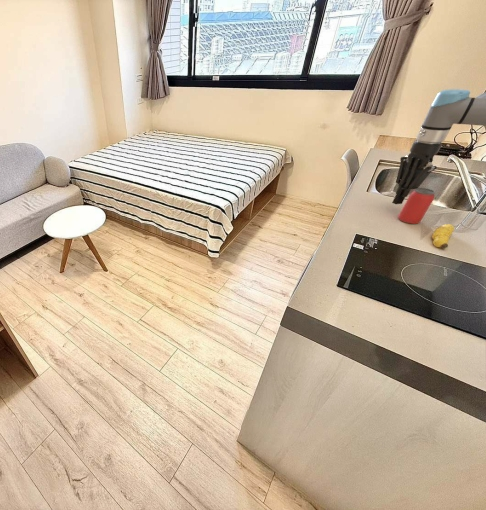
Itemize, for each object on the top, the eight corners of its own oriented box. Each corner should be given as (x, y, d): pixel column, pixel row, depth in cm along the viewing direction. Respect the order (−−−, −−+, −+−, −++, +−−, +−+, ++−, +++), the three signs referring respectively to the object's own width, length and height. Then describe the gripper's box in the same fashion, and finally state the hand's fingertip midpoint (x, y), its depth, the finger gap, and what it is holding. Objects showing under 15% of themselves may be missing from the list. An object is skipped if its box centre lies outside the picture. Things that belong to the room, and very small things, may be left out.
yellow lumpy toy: (435, 226, 100) (444, 219, 97) (450, 234, 98) (459, 226, 95) (425, 243, 92) (434, 236, 90) (441, 252, 90) (451, 244, 87)
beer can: (402, 224, 103) (419, 194, 96) (394, 215, 109) (409, 186, 102) (423, 225, 102) (441, 194, 95) (413, 216, 107) (430, 187, 100)
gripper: (403, 137, 101) (375, 197, 115) (434, 147, 91) (400, 211, 104) (423, 136, 101) (393, 195, 115) (457, 145, 91) (420, 209, 104)
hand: (396, 203), depth 110 cm, fingers closed
